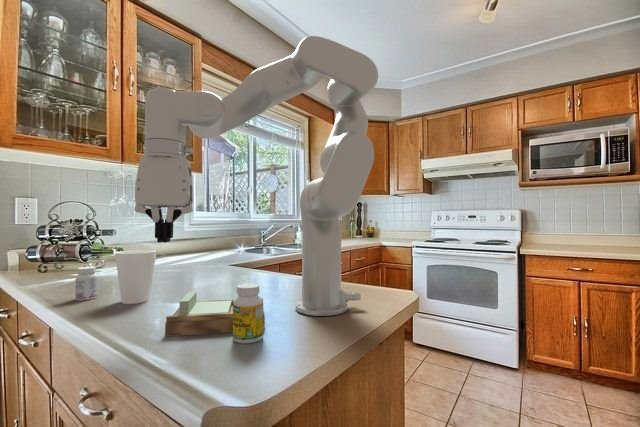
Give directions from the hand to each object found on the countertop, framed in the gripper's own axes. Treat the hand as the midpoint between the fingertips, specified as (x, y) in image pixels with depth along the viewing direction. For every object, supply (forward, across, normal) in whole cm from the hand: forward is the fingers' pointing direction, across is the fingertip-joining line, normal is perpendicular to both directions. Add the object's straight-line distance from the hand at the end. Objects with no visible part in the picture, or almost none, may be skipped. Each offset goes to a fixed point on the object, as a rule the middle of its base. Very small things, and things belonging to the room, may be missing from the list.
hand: (163, 241), depth 63 cm
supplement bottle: (+17, -17, +10) cm, 26 cm away
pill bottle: (+17, +27, -28) cm, 43 cm away
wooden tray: (+17, -11, 0) cm, 20 cm away
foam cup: (+17, +13, -23) cm, 32 cm away
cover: (+14, -9, 0) cm, 17 cm away
